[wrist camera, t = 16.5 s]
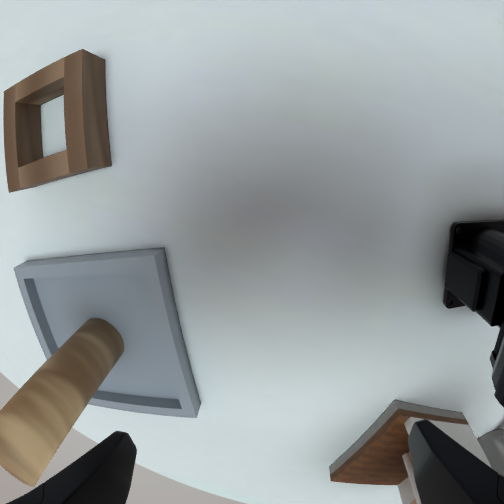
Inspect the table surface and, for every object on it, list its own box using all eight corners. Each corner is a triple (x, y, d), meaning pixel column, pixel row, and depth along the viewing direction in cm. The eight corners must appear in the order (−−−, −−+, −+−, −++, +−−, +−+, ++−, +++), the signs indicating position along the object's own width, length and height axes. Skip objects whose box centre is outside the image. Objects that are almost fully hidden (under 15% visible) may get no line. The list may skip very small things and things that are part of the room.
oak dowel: (115, 318, 21) (5, 450, 8) (130, 360, 22) (47, 495, 9) (77, 317, 22) (-32, 426, 8) (92, 357, 23) (5, 472, 9)
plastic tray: (163, 247, 20) (154, 255, 18) (200, 403, 24) (196, 417, 22) (26, 261, 21) (13, 267, 19) (74, 389, 25) (66, 399, 23)
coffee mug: (472, 471, 27) (491, 514, 18) (434, 475, 27) (452, 528, 17) (529, 410, 23) (559, 453, 14) (499, 408, 23) (533, 462, 13)
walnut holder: (104, 59, 16) (82, 48, 13) (111, 165, 18) (87, 168, 16) (28, 94, 17) (4, 91, 14) (33, 187, 19) (8, 192, 16)
